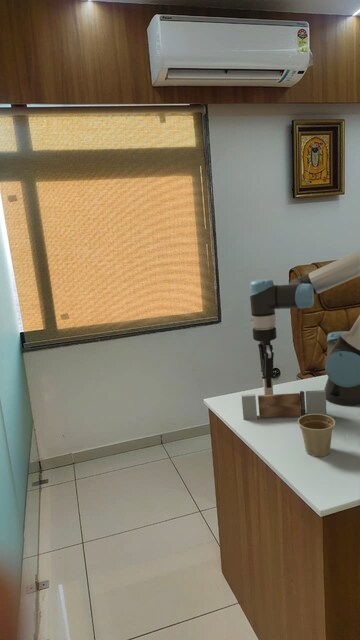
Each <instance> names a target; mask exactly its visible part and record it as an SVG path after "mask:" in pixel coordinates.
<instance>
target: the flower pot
mask: <svg viewBox="0 0 360 640" xmlns="http://www.w3.org/2000/svg"><path fill="white" fill-rule="evenodd" d="M297 424H298V426H299V428H300V430H301V434H302V439H303V443H304V448H305V452H306V454H308V455H311V456H313V457H326V456H327V455H328V454H330V452H331V444H332V434H333V430H334V427H335V425H336V420H335V419H334V418H333V417H331V416H329V415H328V414H327V415H323V414H308V415H307V414H306V415H304V416H302V415H301V417H300V418H297Z"/></svg>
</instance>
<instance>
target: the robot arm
mask: <svg viewBox="0 0 360 640" xmlns="http://www.w3.org/2000/svg"><path fill="white" fill-rule="evenodd" d="M358 277H360V249H358V250H356V251H354V252H352V253H349V254H347V255H346V256H343V257H341V258H339V259H337V260H334V261H333V262H331V263H328V264H326V265H324V266H321V267H320V268H317V269H315V270H312V271H311V272H308V273H307V274H304V275H302V276H300V277H296V278H294V279H292V280H290V282H289V283H288V284H280V285H279V284H275V283H274V280H273V279H270V278H263V279H262V278H261V279H260V278H259V279H254V280H252V281H250V283H249V301H250V309H251V311H250V312H251V318H250V319H249V321H250V322H251V324H252V325H251V326H252V339H253V340H254V341H256V342H259V343H258V345H257V347H258V353H259V360H260V369H261V373H262V377H261V379H262V380H263V395H274V386H273V378H274V357H275V356H274V355H275V353H274V352H273V349H274V348H273V345H272V342H271V341H274V340H276V339H277V337H278V336H277V327H276V326H277V321H276V310H281V309H283V310H284V309H285V310H286V309H300V310H301V309H308V308H310V309H311V308H312V307H314V304H315V303H314V302H315V296H316V295H318V294H320V293H323V292H324V291H328V290H330V289H332V288H334V287H336V286H339V285H342V284H343V283H346V282H348V281H351V280H353V279H356V278H358ZM326 338H327V339H326V342H327V353H326V359H325V361H324V370H325V373H326V376H327V379H326V383H325V386H324V389H323V390H325V392H326V401H328V402H329V403H333V404H336V405H340V406H360V315H359V316H358V317H357V319H356V320H355V322H354V324H353V325H352V327H351V328H350V330H348V331H332V332H329V333H328V334H327V336H326Z"/></svg>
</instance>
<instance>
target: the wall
mask: <svg viewBox="0 0 360 640" xmlns="http://www.w3.org/2000/svg"><path fill="white" fill-rule="evenodd" d="M241 405H242V407H241V408H242V417H243V420H247V421H248V420H257V421H258V420H277V419H279V420H280V419H299V418H300V417H302V415H297V416H276V417H259V414H258V411H257V399H256V394H255V393H251V394H250V393H247V394H244V393H243V394H241ZM305 411H306V415H308V414H323V415H327V416H328V414H327V400H326V392H325V390H324V389H320V390H306V391H305Z"/></svg>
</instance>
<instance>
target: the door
mask: <svg viewBox="0 0 360 640" xmlns="http://www.w3.org/2000/svg"><path fill="white" fill-rule="evenodd" d="M257 400H258V402H257V403H258V404H257V405H258V415H259V417H276V416H297V415H300V416H301V417H302V416H304V415H307V413H306V393H305V391H303V390H301V391H299V392H297V393H296V392H295V393H279V394H278V393H277V394H273V395H264V394H259V395H257Z"/></svg>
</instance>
